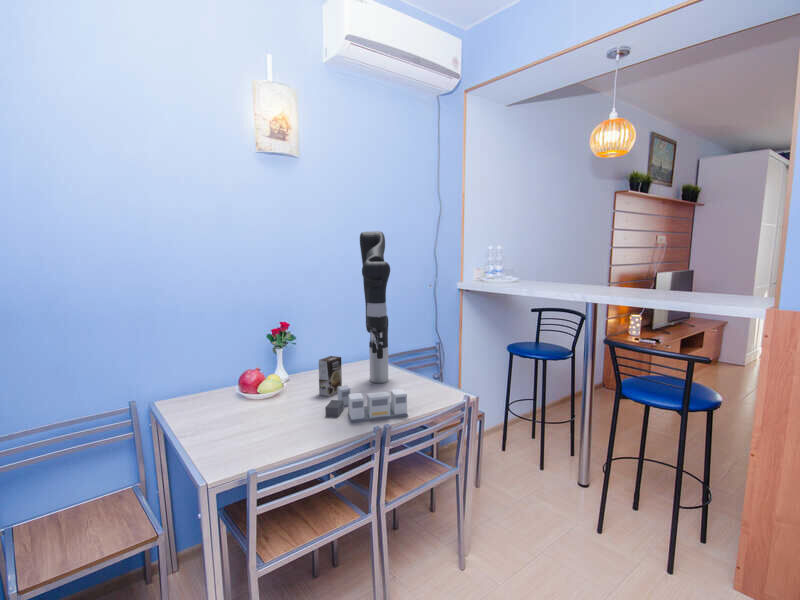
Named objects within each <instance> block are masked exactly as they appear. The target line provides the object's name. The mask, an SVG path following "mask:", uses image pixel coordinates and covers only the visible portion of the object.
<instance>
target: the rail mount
mask: <svg viewBox="0 0 800 600" xmlns="http://www.w3.org/2000/svg"><path fill="white" fill-rule="evenodd" d="M347 411H348V412H347V413H348V414H347V415H348V417H349V419H350V420H349V421H350V422H351V423H352V424H354V423H355V424H356V423H362V422H369V421H379V420H380V421H381V420H387V419H389V420H390V419H395V418H397V419H398V418H404V417H408V415H409V414H408V393H407V392H406V391H405V390H404V388H397V389H390V416H384V417H375V418H369V416H368V414H367V404H365V397H364V395H363V394H362V392H358V393H357V392H356V393H350V394H349V405H348V406H347Z"/></svg>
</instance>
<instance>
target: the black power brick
mask: <svg viewBox="0 0 800 600" xmlns="http://www.w3.org/2000/svg"><path fill="white" fill-rule="evenodd" d="M344 407H345V406H344V401H343V400H338V399H331V400H330V401H329V402H328V403H327V405H326V406H325V417H327V418H328V417H329V418H339V417H340V415H341V414H342V412H343V411H344V410H345V408H344Z"/></svg>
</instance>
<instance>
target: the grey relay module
mask: <svg viewBox="0 0 800 600" xmlns="http://www.w3.org/2000/svg"><path fill="white" fill-rule="evenodd" d="M349 394H351V388H350V387H349V386H348V385H345V384H344V385H342V386H339V387H338V393H337V400H343V401H344V407H345V406H347V407H348V406H349Z"/></svg>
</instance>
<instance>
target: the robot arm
mask: <svg viewBox="0 0 800 600" xmlns="http://www.w3.org/2000/svg"><path fill="white" fill-rule="evenodd" d="M359 249H360V256H361V262H362V268H361V275H362V278H363V280H362V281H363V293H364V301H365V328H366V332H367V333H369V335H370V338H369V343H368V344H369V345H368V347H369V381H370V382H371V383H375V384H382V383H386V382H389V316H388V313H387V312H388V310H387V308H388V307H387V298H386V297H387V285H388V282H389V278H390V275H391V267H390V264H389V263H388V262H387V261H385V258H384V254H385V250H386V238H385V234H384V232H382V231H381V230H375V231H374V230H373V231H363V232H361V233H360V234H359Z"/></svg>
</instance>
